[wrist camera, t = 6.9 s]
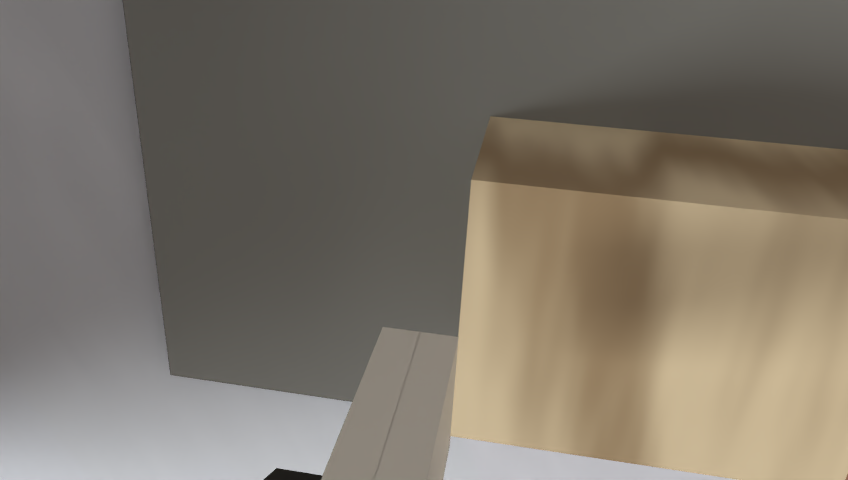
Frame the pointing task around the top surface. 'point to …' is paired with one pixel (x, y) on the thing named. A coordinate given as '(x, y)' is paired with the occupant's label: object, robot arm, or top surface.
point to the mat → (410, 146)
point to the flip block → (657, 300)
